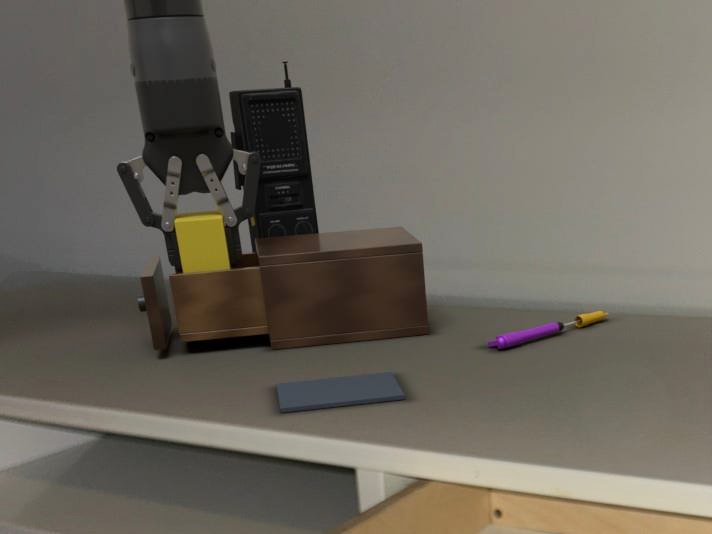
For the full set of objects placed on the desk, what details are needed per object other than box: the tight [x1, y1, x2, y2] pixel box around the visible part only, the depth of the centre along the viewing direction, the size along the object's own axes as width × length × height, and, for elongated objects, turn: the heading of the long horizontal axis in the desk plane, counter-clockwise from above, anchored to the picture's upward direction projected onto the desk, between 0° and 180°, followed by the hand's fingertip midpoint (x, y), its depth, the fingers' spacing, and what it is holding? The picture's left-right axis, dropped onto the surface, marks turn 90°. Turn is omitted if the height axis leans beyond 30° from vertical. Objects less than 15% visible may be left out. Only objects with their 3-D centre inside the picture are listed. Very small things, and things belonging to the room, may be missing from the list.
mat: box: [275, 371, 406, 414], centre depth 89 cm, size 10×8×1 cm
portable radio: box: [228, 61, 320, 252], centre depth 116 cm, size 8×6×25 cm
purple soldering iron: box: [487, 310, 610, 350], centre depth 105 cm, size 3×1×16 cm
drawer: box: [136, 251, 269, 351], centre depth 108 cm, size 16×12×7 cm
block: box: [174, 210, 232, 273], centre depth 107 cm, size 4×7×10 cm, turn 12°
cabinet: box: [255, 226, 430, 351], centre depth 110 cm, size 16×14×9 cm
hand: (207, 267), depth 107 cm, fingers closed on block, 4 cm apart
